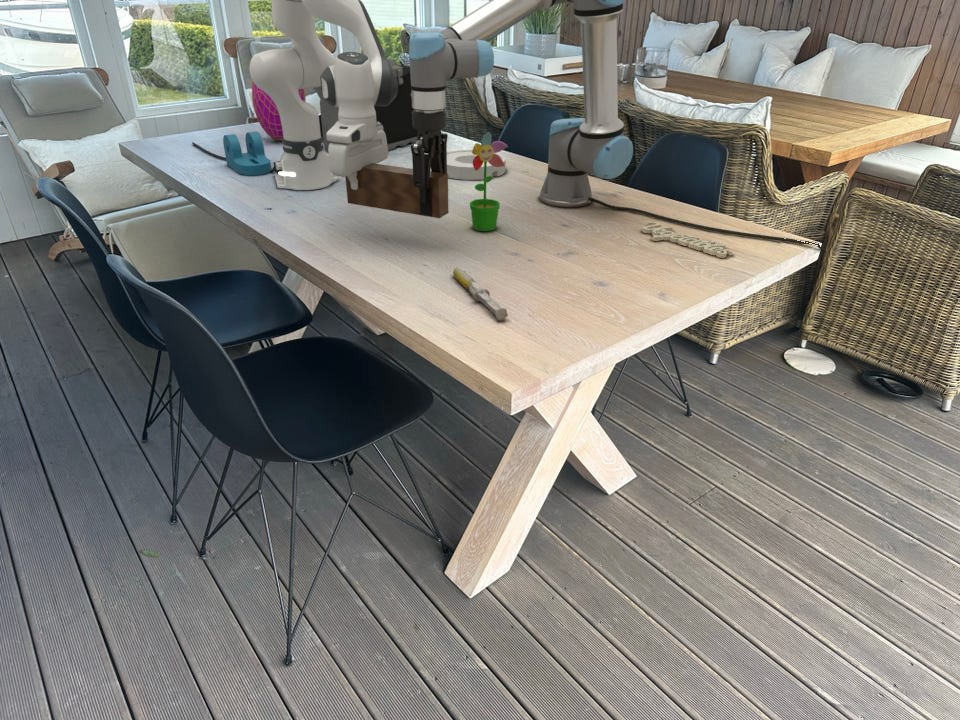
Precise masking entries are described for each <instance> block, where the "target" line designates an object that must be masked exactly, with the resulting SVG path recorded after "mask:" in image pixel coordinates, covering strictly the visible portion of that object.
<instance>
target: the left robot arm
mask: <svg viewBox="0 0 960 720" xmlns="http://www.w3.org/2000/svg"><path fill="white" fill-rule="evenodd" d="M271 18H272V23H273V25H274V27H275V29H276V30H277V31H278V32H280V33H281V34H283V35H284V36H286V37H288V38H290V41H291V47H289V48H274V49H266V50H263V51H260V52H258V53H255V54H253V56H252V57H251V59H250V62H249V75H250V78H251V81H252V80H253V82H254V83H255V85H256V86H257V87H258V88H259V89H261V90H262V91H264V92H265V93H267V94H268V95H269V96H270V98H271V99H272V100H273V101H274V103H275V105H276V107H277V109H278V111H279V115H280V119H281V124H282V130H283V137H284V138H283V141H282V142H281V143H282V144H281V145H282V151H283V152H282V154H281V156H280V158H279V160H278V161H277V160H276V161H274V162H273V167H272V168H271V170H270V172H269V173H271V174H272V173H274V179H275V183H276V187H277V189H287V190H295V191H313V190H318V189H324V188H326V187H329V186H330V185H331V184H332V183H335V182H337V181H338V177H341V178H344V177H345V176H347V177H348V179H349V181H350V182H351V189H354V190H357V189H359V188H360V181H358V180H357V178H356V176H357V171H359V170H361V169H362V167H364V166H367V165H369V164H371V163H375V164H379V163H380V162H382V161H385V160H387V159H388V156H389V150H388V146H387V139H386V135H385V132H384V131H383V126H382V125H381V123H380V122H377V121H376V112H375V109H374V106H388V105H389V104H390V103H391V102H392V101H393V100H394V99H395V97H396V95H397V93H398V81H397V77H396V74H395V72H394V70H393V68H392V66H391V65H390V63H389V61H388V59H389V58H388V57H387V55H386V53H385V50H384V47H383V45H382V43H381V40H380V38H379V36H378V34H377V33H378V32H377V31H376V28H375V26H374V24H373V22H372V21H373V20H372V19H371V17H370V15H369V12H368V10H367V8H366V6H365V4H364V3H363V1H362V0H271ZM315 18H316V19H318V20H320V21H323V22H324V23H328V24H332V25H335V26H338V27H340V28H343V29H345V30H347V31H348V32H350V33H352V35H354V36H355V38H356V40H357V41H358V43H359V47H360V48H361V52H356V51H344V52H341V53H338V54H337V55H336V57H335V56H334V54H333V53H332V52H331V51H330V50H329V49H328V48H327V47H326V46H324V44H323V43H322V42H321V39H320V37H319V35H318V33H317V29H316V23H315ZM320 86H321V91H322V98H323V99H324V100H325V101H326V102H327V103H328V104H330V105H331V106H334V107H339V112H338V119H339V121H337V122H336V123H335V125H334V126H333V127H332V128H331V129H330V130H329V131H328V132H327V134H326V136H327V140H328V141H331V143H330V144H329V147H328V150H327V151H328V153H327V152H326V151H324V149H325V147H324V143H323V138H322V136H321V132H320V123H319V115H320V114H319V112H318V109H317V108H316V107H315V106H314V105H312V104H311V103H310V102H307V101H306V102H305V101H302V100H301V98H300V95H299V89H304V90H305V89H312V88H313V87H320ZM313 89H314V88H313ZM191 145H193V146H195V147H196V148H198V149H199V150H201V151H203V152H204V153H206V154H209V155H210V156H212V157H215V158H218V159H221V160H225V161H226V156H223V155H220V154H219V155H218V154H215V153H213V152H211V151H209V150H206V149H205V148H204V147H202V146H200V145H199V144H198V143H195V142H194V141H193V142H192V143H191Z"/></svg>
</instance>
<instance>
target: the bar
mask: <svg viewBox="0 0 960 720" xmlns="http://www.w3.org/2000/svg"><path fill="white" fill-rule="evenodd" d="M356 178H357V180H358V181H360V188H359V189H357V190H354V189H351V182H350V181H349V179H348V177H347V176H345V178H344V179H345V188H346V200H347V204H350V205H357V206H361V207H362V206H363V207H367V208H368V207H369V208H374V209H381V210H386V211H391V212H392V211H393V212H399V213H405V214H409V215H416V216H423V217H429V218H434V219H441V218H443V217H445V216H446V215H448V214H449V213H450V212H449V177H448V174H446V173H439V172H432V171H431V170H430V182H429V188H431V197H432V215H431V216H428V215H422V214H420V189H419V188H418V187H414V184H413V168H410V167H404V166H403V167H402V166H395V165H390V164H389V165H388V164H381V163H376V164H375V163H371V164H369V165H367V166H364V167H362V169H361V170H359V171H357V176H356Z"/></svg>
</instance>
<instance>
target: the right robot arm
mask: <svg viewBox="0 0 960 720" xmlns="http://www.w3.org/2000/svg"><path fill="white" fill-rule="evenodd" d="M625 2H626V0H489V1H488V2H486V3H484V4H483V5H481V6H479V7H478V8H477V9H475V10H473V11H471V12H470V13H469V14H467V15H465V16H463V17H462V18H460V19H459V20H457V21H455V22H454V23H453V24H451V25H449V26H448V27H446V28H444V29H442V30H441V31H438V32H431V31H430V32H429V31H428V32H415V33H413V34H411V35H410V38H409V43H408V44H409V46H408V47H409V50H408V59H409V66H410V75H411V96H412V108H413V109H415V110H413V112H412V126H413V128H415V129H416V130H417V131H418V136H417V142H416V143H410V152H411V158H412V169H413V184H414V187H418V188H419V189H420V214H422V215H428V216H431V215H432V197H431V188H429V182H430V171H432V172H439V173H446V174H447V152H448V150H447V149H448V148H447V147H448V146H447V144H448V139H449V138H448V137H449V136H448V133H444V132H442V130H444V129H445V128H446V126H447V120H446V119H447V116H446V115H447V114H446V111H445V110H444V109H445V108H446V106H447V103H446V80H447V81H448V80H456V79H470V78H475V79H477V78H481V77H486V76H488V75H490V73H491V72H492V71H493V68H494V65H495V54H494V50H493V47H492V45H491V44H490V43H489V42H490V41H491V40H493V39H494V38H496V37H497V36H499V35H501V34H502V33H504V32H505V31H507V30H509V29H510V28H512V27H513V26H515V25H517V24H518V23H519V22H521V21H523V20H525V19H526V18H528V17H529V16H530V15H532V14H534V13H536V12H537V11H538V10H543V11H545V10H548V9H550V8H552V7H553V6H555V5H558V4H564V3H573V15H574V17H575V18H576V19H577V20H578V21H579V22H580V34H581V35H580V36H581V59H582V61H581V62H582V83H583V85H582V86H583V103H584V104H583V108H584V109H583V110H584V111H583V112H584V117H575V118H574V117H573V118H562V119H556V120H554V121H553V122H552V123H551V124H550V129H549V134H548V137H549V138H548V156H547V158H548V159H547V173H546V176H545V178H544V181H543V184H542V187H541V189H540V192H539V200H540V202H542V203H543V204H546V205H549V206H553V207H558V208H559V207H560V208H580V207H584V206H588V205H589V204H591V203H596V204H598V205H600V206H602V207H605V208H608V209H612V210H617V211H626V212H633V213H639V214H642V215H646V216H649V217H653V218H656V219H660V220H663V221H667V222H671V223H675V224H678V225H681V226H682V225H683V226H687V227H690V228H691V227H692V228H696V229H701V230H704V231H705V230H706V231H710V232H715V233H716V232H717V233H722V234H728V235H735V236H741V237H747V238H756V239H762V240H769V241H778V242H779V241H780V242H787V243H793V244H799V245H810V246H815V245H818V246H815V247H817V248H818V249H819V250H820V251H821V252H822V253H827V250H826V248H825V247H824V246H823V245H822V244H821V247H820V245H819V244H820V243H819V242H817V241H813V240H811V241H812V242H815V243H818V244H815V243H812V242H809V241H810V240H804V241H805V243H804V242H801V241H803V240H802V239H799V240H800V241H797V240H798V239H796V240H795V238H788V237H781V236H772V235H765V234H757V233H749V232H742V231H737V230H731V229H730V230H729V229H723V228H718V227H712V226H707V225H702V224H698V223H692V222H688V221H683V220H679V219H676V218H671V217H667V216H665V215H660V214H657V213H653V212H651V211H650V212H649V211H646V210H643V209H639V208H633V207H626V206H617V205H612V204H608V203H606V202H604V201H602V200H599V199H596V198H594V197H593V193H592V188H591V184H590V179H589V174H590V175H593V176H595V177H597V178H599V179H600V178H602V179H605V180H612V179H615V178H617V177H619V176H620V175H622V174H623V173H624V172H625V171H626V169H627V168H628V167H629V165H630V164H631V161H632V158H633V155H634V145H633V142H632V140H631V139H630V138H629V137H628V136H626V135H625V124H624V122H623V120H621V119H620V118H619V104H618V103H619V101H618V99H619V98H618V97H619V96H618V94H619V93H618V92H619V91H618V25H617V24H618V23H617V22H618V20H617V19H618V17H619V16H620V14H622V12H623V10H624V3H625ZM784 238H786V239H784ZM806 242H808V243H806ZM809 243H812V244H815V245H812V244H809Z"/></svg>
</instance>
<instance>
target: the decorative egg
mask: <svg viewBox="0 0 960 720" xmlns="http://www.w3.org/2000/svg"><path fill="white" fill-rule="evenodd" d="M299 95H300V98H301V100H302V101H305V102H307V101H306V99H307V97H306V93H305V88H304V89H299ZM251 101H252V107H253V110H254V114H255V116H256V118H257V121H258V123H259V125H260V127H261V128H262V130H263V131H264V133H266V135H267V136H268V137H270V138H271V139H273V140H275V141H282V142H283V138H284V137H283V130H282V124H281V119H280V115H279V111H278V109H277V107H276V105H275V103H274V101H273V100H272V99H271V98H270V96H269V95H268V94H267V93H265V92H264V91H262V90H261V89H259V88H258V87H257V86H256V85H255V83H254V82H253V80H252V79H251Z"/></svg>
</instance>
